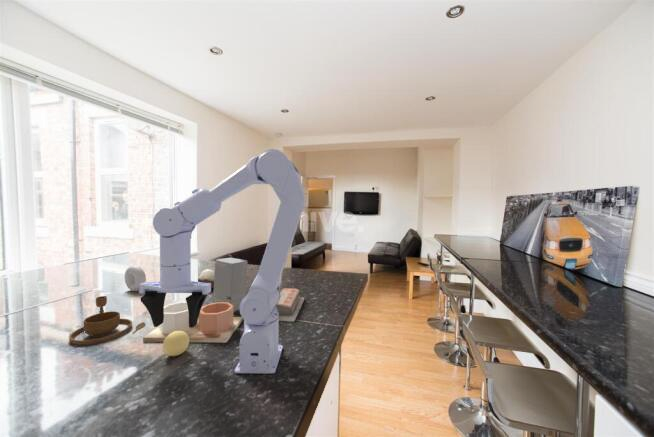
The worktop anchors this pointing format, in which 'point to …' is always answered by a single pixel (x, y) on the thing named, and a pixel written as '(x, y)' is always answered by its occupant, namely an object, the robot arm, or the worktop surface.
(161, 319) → the robot arm
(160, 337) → the rack board
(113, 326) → the place setting
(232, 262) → the skincare box
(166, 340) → the ball
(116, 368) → the worktop surface
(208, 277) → the skull
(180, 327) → the tube white
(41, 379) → the worktop surface
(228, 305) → the terracotta octagonal bowl
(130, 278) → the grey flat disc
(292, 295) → the packaged product
